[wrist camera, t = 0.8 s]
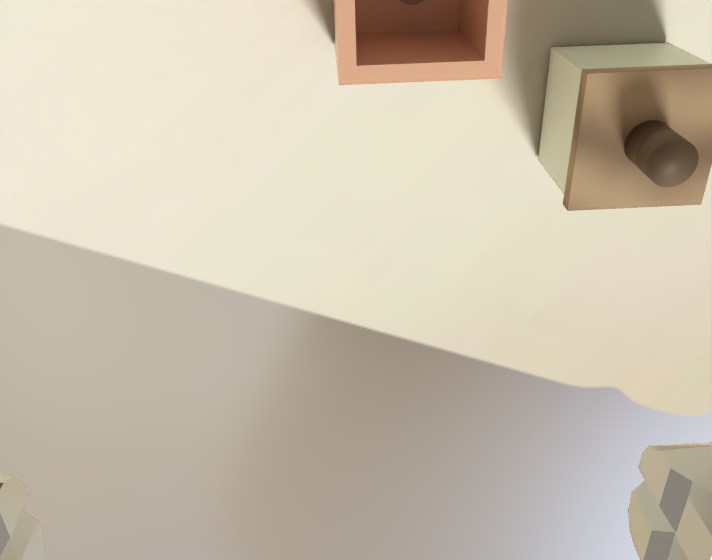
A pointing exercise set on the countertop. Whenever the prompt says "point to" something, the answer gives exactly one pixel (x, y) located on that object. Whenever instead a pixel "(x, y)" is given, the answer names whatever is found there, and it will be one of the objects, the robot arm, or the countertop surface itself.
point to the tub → (566, 88)
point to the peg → (411, 2)
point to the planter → (418, 40)
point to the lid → (641, 138)
